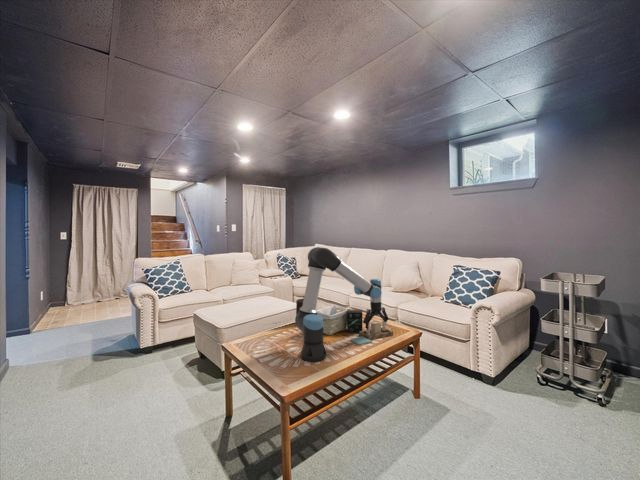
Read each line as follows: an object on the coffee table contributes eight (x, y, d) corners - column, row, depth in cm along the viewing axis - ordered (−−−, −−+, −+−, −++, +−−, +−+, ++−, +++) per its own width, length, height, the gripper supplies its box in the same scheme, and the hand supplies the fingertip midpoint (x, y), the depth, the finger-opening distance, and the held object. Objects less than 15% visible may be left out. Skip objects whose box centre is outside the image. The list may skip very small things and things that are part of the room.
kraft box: (375, 336, 199) (375, 324, 199) (370, 334, 204) (370, 322, 204) (381, 335, 202) (381, 323, 202) (376, 333, 206) (376, 321, 206)
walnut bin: (368, 340, 193) (368, 336, 193) (358, 335, 203) (358, 331, 203) (393, 335, 203) (393, 331, 203) (382, 330, 212) (382, 327, 212)
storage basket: (329, 336, 201) (330, 315, 200) (312, 330, 211) (313, 310, 210) (349, 328, 219) (350, 309, 218) (332, 323, 229) (333, 304, 229)
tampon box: (362, 328, 217) (362, 309, 217) (362, 332, 208) (362, 312, 208) (347, 328, 218) (347, 308, 218) (347, 332, 209) (347, 312, 209)
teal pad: (359, 345, 184) (359, 343, 184) (350, 340, 193) (350, 338, 193) (371, 342, 189) (371, 340, 189) (362, 337, 198) (362, 336, 198)
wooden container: (317, 323, 231) (317, 296, 231) (300, 326, 224) (300, 298, 224) (309, 319, 244) (309, 293, 244) (293, 321, 237) (293, 294, 237)
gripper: (364, 304, 194) (364, 336, 194) (393, 300, 205) (393, 330, 205) (357, 302, 200) (358, 333, 201) (386, 298, 212) (386, 327, 212)
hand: (376, 331), depth 203 cm, fingers open, 13 cm apart
